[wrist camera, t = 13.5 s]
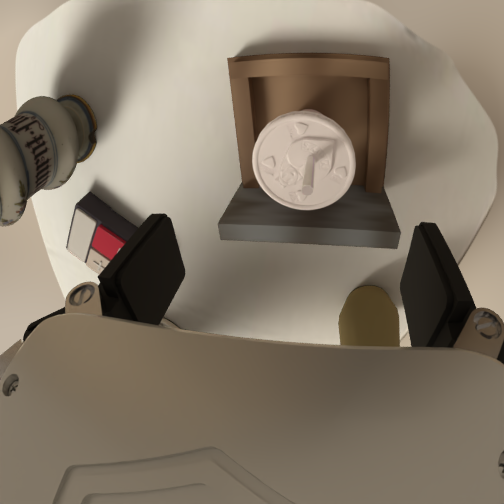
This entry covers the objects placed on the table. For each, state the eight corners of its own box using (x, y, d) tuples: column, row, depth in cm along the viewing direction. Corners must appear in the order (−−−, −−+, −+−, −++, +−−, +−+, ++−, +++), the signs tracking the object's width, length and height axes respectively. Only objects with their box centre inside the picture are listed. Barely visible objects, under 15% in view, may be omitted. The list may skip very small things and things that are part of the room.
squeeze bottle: (368, 325, 41) (369, 439, 27) (326, 304, 40) (316, 427, 26) (406, 294, 36) (424, 418, 22) (364, 268, 35) (372, 404, 21)
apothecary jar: (106, 175, 34) (9, 260, 20) (48, 163, 35) (-39, 231, 21) (105, 85, 26) (-26, 140, 13) (43, 87, 27) (-65, 138, 13)
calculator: (137, 303, 44) (63, 252, 40) (147, 284, 47) (77, 235, 43) (161, 267, 37) (72, 205, 33) (173, 247, 41) (89, 189, 37)
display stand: (248, 187, 31) (220, 239, 24) (233, 57, 23) (191, 60, 15) (378, 191, 28) (397, 248, 21) (384, 58, 20) (418, 59, 12)
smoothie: (359, 134, 23) (391, 208, 13) (306, 174, 27) (292, 271, 16) (310, 80, 22) (302, 100, 11) (259, 125, 25) (205, 190, 14)
